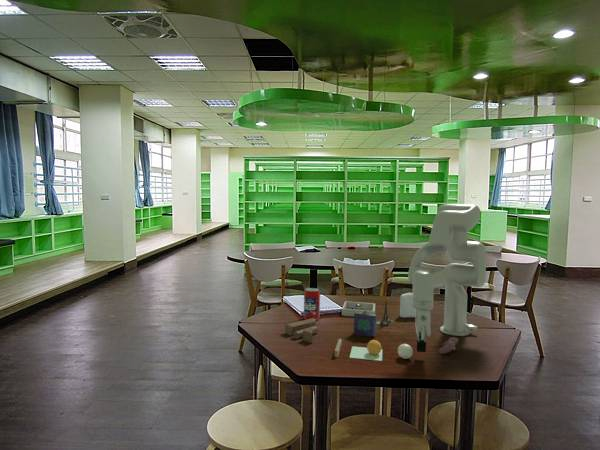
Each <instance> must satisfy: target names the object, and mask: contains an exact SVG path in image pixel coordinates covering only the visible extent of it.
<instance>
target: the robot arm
mask: <svg viewBox="0 0 600 450" xmlns="http://www.w3.org/2000/svg"><path fill="white" fill-rule="evenodd" d="M481 213H482V211H481V209H480V207H479V206H478V205H476V204H468V203H467V204H466V203H462V204H460V203H444V204H441V205H439V206H438V209H437V213H436V214H435V217H434V219H433V224H432V227H431V232H430V235H429V237H428V238H429V239H428V241H427V242H426V244H424V245H422V246H421V247H420V248H419V249H418V250H416V252H415V253H414V255H413V256H412V259H411V262H410V265H409V269H408V274H407V277H408V280H409V282H410V283H411V284H412V293H413V294H412V307H413V308H414V309H415V317H414V321H415V323H414V324H415V331H416V335H417V340H416V352H418V353H426V352H427V337H431V317H432V316H431V311H432V310H434V290H435V289H440V288H442V287H444V286H445V287H444V288H445V290H444V313H443V315H444V316H443V317H444V318H443V325H442V326H440V327H439V331H440V332H442V333H443V334H446V335H450V336H453V337H454V336H455V337H467V336H469V335H470V331H476V332H477V331H478V326H477V325H474V324H468V323H467V316H468V315H467V313H468V312H467V311H468V293H467V290H466V289H465V287H464V286H466V287H472V288H483V286H484V285H485V283H486V278H487V271H486V270H487V250H486V246H485V244H484V243H482V242H480V241H474V240H469V238H468V236H469V235H468V234H469V233H468V232H470V231H472V229H474V227H475V226H476V225H477V224H478V223H479V221H480V220H481ZM445 252H447V257H448V259H449V260H451V261H454V262H453V263H452V262H451V263H449V264H446V265H445V266H444V269H442V268H437V267H429V266H423V265H422V264H423V262H424V261H426V259H428V258H430V257H432V256H436V255H438V254H441V253H445ZM457 262H460V263H457ZM466 263H471V264H466ZM421 265H422V266H421Z"/></svg>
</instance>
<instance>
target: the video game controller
mask: <svg viewBox="0 0 600 450" xmlns="http://www.w3.org/2000/svg"><path fill="white" fill-rule="evenodd" d="M458 342H459V338H458V337H454V336H453V337H449V339H448V340H446V341H445V342H444V343H443V346H442V347H440V348H439V350H438V352H439V354H441V355H444V354H450V353H451V351H453V350H456V345H457V344H458Z"/></svg>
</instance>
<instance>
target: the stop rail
mask: <svg viewBox="0 0 600 450" xmlns="http://www.w3.org/2000/svg"><path fill="white" fill-rule="evenodd" d="M342 345H343V339H342V338H338V340H337V343H336V346H335V349H334V354H333V355H334V356H333V357H334V358H338V357H339V354H340V352H341V348H342Z"/></svg>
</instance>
